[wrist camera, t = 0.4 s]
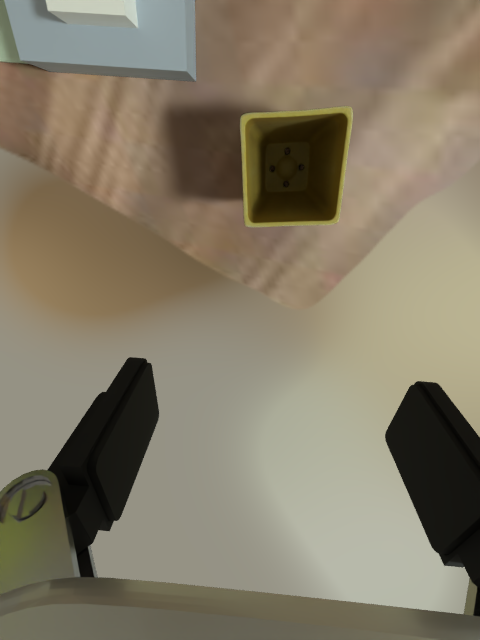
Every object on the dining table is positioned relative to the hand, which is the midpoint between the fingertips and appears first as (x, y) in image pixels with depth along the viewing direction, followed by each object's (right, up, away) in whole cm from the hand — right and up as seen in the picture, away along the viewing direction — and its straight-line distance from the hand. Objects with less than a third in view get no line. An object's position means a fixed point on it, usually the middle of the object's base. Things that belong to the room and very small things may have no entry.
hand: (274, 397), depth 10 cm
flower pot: (+4, +20, +21) cm, 29 cm away
